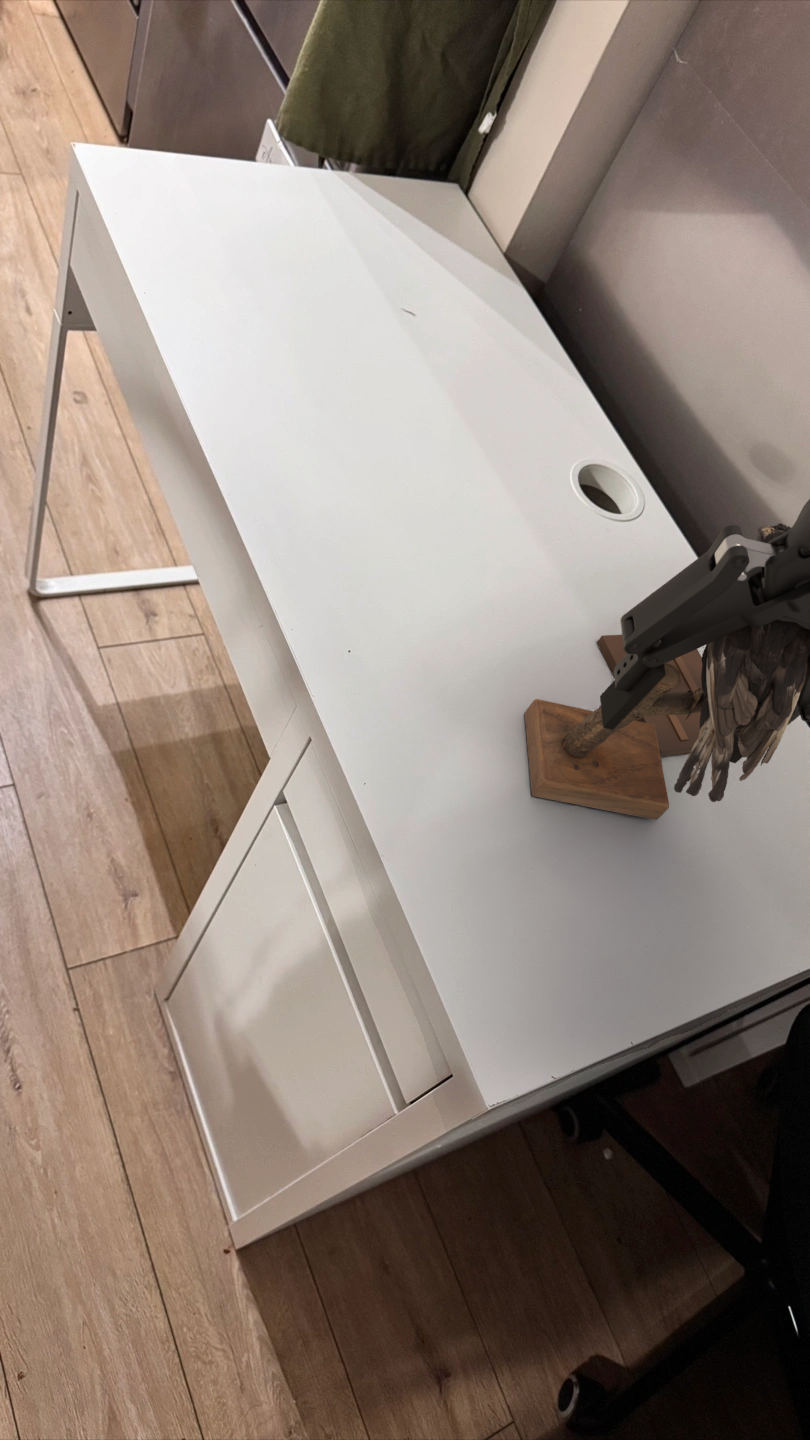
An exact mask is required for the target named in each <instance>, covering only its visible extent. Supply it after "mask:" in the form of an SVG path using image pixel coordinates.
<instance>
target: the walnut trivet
mask: <svg viewBox="0 0 810 1440" xmlns="http://www.w3.org/2000/svg"><path fill="white" fill-rule="evenodd" d="M660 642H661V640H660ZM596 644H597V646H598V649H599V650H600V652H601V654H602V656H603V657H604V660H605V662H606V664H607V666H608V668H609V670H610V672H611V674H612V676H613V677H614V669H615V666H616V665H617V664H618V663H619V662H620V661H621V660H622V658H623V657H624V656H625V655H626V654H627V653H626V652H625V650H624V644H623V636H622V634H605V635H601V636H600V638H599V639H597V641H596ZM701 659H702V655H701V654H700V652H699V650H698V649H696V650H693V651H691V652H689V653H687V654H685V655H682V656H680V657H678V658H676V659H674V660H671V661H669V662H667V664H671V665H673V666H674V667H675V668H676V669H677V670H678V671H679V673H680V678H681V682H680V684H679V685H678V686H677V687H675V688H673V689H671V690H670V692H687V691H688V690H691V689H692V690H694V692H695V690H696V689H697V688H699V689H700V688H702V684H701V683H702V682H701V672H702V660H701ZM699 691H700V690H699ZM700 715H701V712H698V713H691V714H690V716H689V717H688V718H687V716H688V714H682V715H650V716H644V717H642V718H641V719H639V720H635V721H639V722H644V723H648V724H653V725H655V729H656V734H657V740H658V745H659V751H660V756H661V758H665V757H674V756H680V755H681V756H682V755H687V754H688V755H690V753H691V751H692V748H693V746H694V744H695V742H696V741H697V739H698V738H699V728H700ZM686 718H687V719H686ZM685 719H686V720H685ZM706 730H707V727H706ZM713 736H714V730H713V731H712V733H711V734H710V737H709V743H708V742H707V743H708V744H707V746H709V745H710V743H711V740H712V739H713ZM702 740H703V738H702ZM699 743H700V742H699Z"/></svg>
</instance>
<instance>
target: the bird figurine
mask: <svg viewBox="0 0 810 1440" xmlns="http://www.w3.org/2000/svg"><path fill="white" fill-rule="evenodd" d="M791 528H792V526H789V525H788V526H787V525H786V524H783V523H781V522H779V523H777V524H775V525H769V524H767V525H762V526H760V527H759V528H757V533H756V534H757V535H756V541H759V542H764V543H768V542H769V541H771V540H772V539H774V538H776V537H778V536H780V535H782V534H784V533H785V532H787V531H788V530H790V529H791ZM757 594H758V598H759V602H760V605H761V604H763V603H764V600H763V596H762V592H761V587H760V588H759V589H758V591H757ZM809 655H810V630H809V629H805V628H803V627H802V626H800V625H799V624H797V623H795V622H786V621H780V620H775V621H772V622H770V623H768V624H766V625H763V626H761V627H758V628H755V627H753V626H751V625H749V626H746V627H744V628H742V629H739V630H737V631H735V632H733V633H731V634H728V635H726V636H724V637H722V638H720V639H717V640H715V641H713V642H711V643H709V644H706V645H705V647H704V649H703V652H702V655H701V657H702V659H701V660H702V672H701V682H702V683H701V684H702V688H700V689H699V688H697V689H696V690H695V692H694V690H692V689H691V690H688V691H687V692H670V690H671V689H673V688H675V687H677V686H678V685H679V684H680V682H681V678H680V673H679V671H678V670H677V669H676V668H675V667H674V666H673V665H671V664H667V663H665V664H664V667H665V673H666V675H665V676H664V677H663V678H662V679H661V680H660V681H659V683H658V684H657V685H656V686H655V687H654V688H653V689H652V690H651V691H650V692H649V693H648V694H647V695H646V696H645V697H644V698H643V699H642V700H641V701H640V702H639V703H638V704H637V706H636V707H635V708H634V709H633V710H632V711H631V712H630V713H629V714H628V715H627V716H626V717H625V718H624V719H623V720H622V721H621V722H620V723H619V724H618V725H617V726H616V727H615V728H614V730H610V729H606V728H603V721H602V712H601V705H599V707H597V708H596V709H595V710H589V709H584V708H580V707H576V706H571V705H566V704H562V703H558V702H552V701H549V700H544V699H540V698H535V699H533V700H532V702H531V703H530V705H529V706H528V707H527V708H526V710H525V711H524V722H525V735H526V744H527V756H528V767H529V768H528V769H529V780H530V789H531V790H530V791H531V797H534V798H535V797H536V798H540V799H541V798H542V799H546V800H551V801H557V802H561V803H567V804H572V805H577V806H581V807H588V808H593V809H598V810H602V811H603V810H604V811H608V812H614V813H620V814H625V815H628V816H629V815H630V816H634V817H640V818H643V819H649V820H655V821H658V819H659V818H660V817H661V816H663V814H664V813H666V812H667V811H668V810H669V808H670V807H671V806H670V800H669V795H668V790H667V785H666V784H667V783H666V778H665V773H664V767H663V762H662V757H661V756H660V751H659V745H658V740H657V734H656V729H655V725H653V724H648V723H644V722H639V721H636V720H639V719H641V718H642V717H644V716H650V715H682V714H688V716H687V718H688V717H689V716H690V714H691V713H698V712H701V715H700V728H699V738H698V739H697V741H696V742H695V744H694V746H693V748H692V751H691V753H689V754H688V756H687V759H686V760H685V762H684V763H683V766H682V767H681V770H680V772H679V773H678V777H677V779H676V783H675V784H674V786H673V790H674V792H675V793H678V794H681V793H682V791H683V790H684V788H685V787H686V785H688V782H689V786H688V787H687V789H686V790H685V793H686V794H688V795H690V796H691V797H696V796H698V795H699V794H700V791H701V789H702V787H703V782H704V779H705V774H706V770H707V767H708V764H709V762H711V763H710V764H711V772H710V773H711V774H710V775H711V776H710V781H711V790H710V791H709V792H708V793H707V794H708V799H709V801H710V802H712V803H716V802H721V801H722V800H723V799H724V796H725V791H726V789H727V785H728V778H729V770H730V763H731V762H730V758H731V756H732V753H733V744H734V737H735V736H736V737H738V738H739V741H738V746H739V750H740V753H741V755H742V758H746V759H745V760H744V761H743V762H742V768H741V770H742V773H743V774H742V775H741V776H740V777H739V779H738V780H739V782H742V781H744V780H746V779H747V778H748V777H749V776H750V775H751V774H752V773H753V772H754V770H755V769H756V768H757V767H758V766H759V764H760V766H761V767H762V765H763V764H766V765H767V764H769V762H770V761H771V759H772V758H773V755H774V754H775V751H777V749H778V747H779V744H780V742H781V739H782V737H783V736H784V733H785V731H786V729H787V727H788V725H787V724H788V722H789V720H790V718H791V716H792V714H793V711H794V709H795V706H796V704H797V701H798V698H799V695H800V691H801V689H802V687H803V685H804V682H805V678H806V674H807V659H808V657H809ZM699 690H700V691H699ZM687 718H686V719H687ZM686 719H685V720H686ZM739 725H745V727H744V728H742V729H737V727H738V726H739ZM706 727H707V730H706ZM713 730H714V736H713V739H712V740H711V743H710V745H709V746H707V744H708V743H709V737H710V734H711V733H712V731H713ZM702 738H703V740H702ZM699 742H700V743H699ZM707 742H708V743H707Z"/></svg>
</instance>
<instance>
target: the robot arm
mask: <svg viewBox="0 0 810 1440" xmlns="http://www.w3.org/2000/svg"><path fill="white" fill-rule="evenodd" d="M760 587H761V592H762V596H763V600H764V603H763V604H761V605H760V602H759V598H758V594H757V591H758V589H759V588H760ZM775 620H780V621H786V622H795V623H797V624H799V625H800V626H802V627H803V628H805V629H809V630H810V498H809V499H808V500H807V501H806V502H805V504H804V505H803V507H802V508H801V511H800V512H799V514H798V516H797V518H796V520H795V522H794V524H793V525H792V526H791V529H790V530H788V531H787V532H785V533H784V534H782V535H780V536H778V537H776V538H774V539H772V540H771V541H769V542H768V543H764V542H759V541H757V540H755V539H751V538H748V537H744V531H743V528H742V527H741V526H739V525H737V524H730V525H727V526H726V527H724V528H723V529H722V530H721V531H720V532H719V534H718V536H717V537H716V538H715V540H714V541H713V543H712V544H711V545H710V546H709V549H707V551H706V552H704V553H703V554H702V555H701V556H699V557H698V558H697V559H695V560H693V562H691V563H690V564H689V565H687V566H686V567H684V568H683V569H682V570H681V571H679V572H678V573H677V574H675V575H674V576H673V577H672V578H670V579H669V580H667V581H666V582H665V583H664V584H662V585H661V586H660V587H658V588H657V589H656V590H654V591H653V592H652V593H651V594H649V595H648V596H646V597H645V598H644V599H643V600H642V601H640V602H639V603H638V604H636V605H635V606H634V607H631V609H629V610H628V611H627V612H625V613H624V614H623V615H622V616H621V617H620V626H621V635H622V636H623V644H624V650H625V652H626V653H627V654H626V655H625V656H624V657H623V658H622V660H621V661H620V662H619V663H618V664H617V665H616V666H615V669H614V676H613V678H614V680H613V681H611V683H610V684H609V686H608V687H607V688H606V689H605V690H604V691H602V693H601V694H600V695H599V700H600V701H599V702H600V706H601V712H602V721H603V728H606V729H610V730H614V728H615V727H616V726H617V725H618V724H619V723H620V722H621V721H622V720H623V719H624V718H625V717H626V716H627V715H628V714H629V713H630V712H631V711H632V710H633V709H634V708H635V707H636V706H637V704H638V703H639V702H640V701H641V700H642V699H643V698H644V697H645V696H646V695H647V694H648V693H649V692H650V691H651V690H652V689H653V688H654V687H655V686H656V685H657V684H658V683H659V681H660V680H661V679H662V678H663V677H664V676H665V675H666V673H665V667H664V664H665V663H667V662H669V661H671V660H674V659H676V658H678V657H680V656H682V655H685V654H687V653H689V652H691V651H693V650H696V649H697V650H698V649H699V648H702V647H704V646H706V644H709V643H711V642H713V641H715V640H717V639H720V638H722V637H724V636H726V635H728V634H731V633H733V632H735V631H737V630H739V629H742V628H744V627H746V626H749V625H751V626H753V627H755V628H758V627H761V626H763V625H766V624H768V623H770V622H772V621H775ZM660 640H661V642H660ZM798 717H800V719H801V721H803V722H805V723H806V722H807V723H810V655H809V657H808V659H807V674H806V678H805V682H804V685H803V687H802V689H801V691H800V695H799V698H798V701H797V704H796V706H795V709H794V711H793V714H792V716H791V718H790V720H789V722H788V724H787V726H790V724H792V723H793V722H794V721H795V720H796V719H797V718H798ZM744 727H745V725H739V726H738V727H737V729H742V728H744ZM738 741H739V738H738V737H736V736H735V737H734V744H733V753H732V756H731V758H730V762H729V763H733V764H737V763H738V762H739V761H740V760H741V759H742V758H743V757H742V755H741V753H740V750H739V746H738Z"/></svg>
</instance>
